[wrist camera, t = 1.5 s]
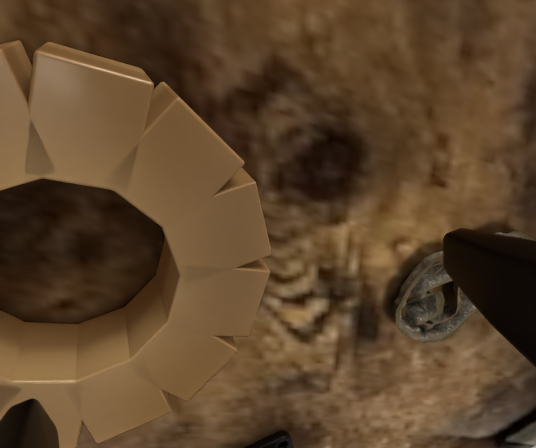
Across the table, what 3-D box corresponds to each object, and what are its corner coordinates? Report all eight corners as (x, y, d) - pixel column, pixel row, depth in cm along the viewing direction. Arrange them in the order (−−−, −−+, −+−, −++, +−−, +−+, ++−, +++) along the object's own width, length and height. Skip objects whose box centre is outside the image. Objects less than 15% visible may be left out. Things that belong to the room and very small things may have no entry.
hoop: (269, 312, 18) (296, 359, 15) (-34, 434, 15) (-56, 511, 13) (191, 0, 12) (215, -2, 10) (-311, 114, 10) (-441, 149, 7)
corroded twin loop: (518, 289, 23) (535, 301, 22) (386, 347, 21) (399, 362, 20) (530, 206, 20) (550, 215, 19) (381, 263, 19) (396, 276, 18)
